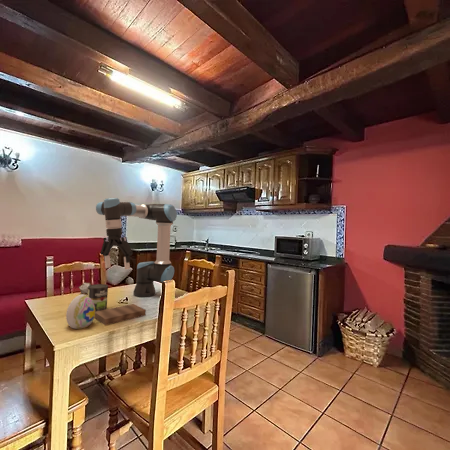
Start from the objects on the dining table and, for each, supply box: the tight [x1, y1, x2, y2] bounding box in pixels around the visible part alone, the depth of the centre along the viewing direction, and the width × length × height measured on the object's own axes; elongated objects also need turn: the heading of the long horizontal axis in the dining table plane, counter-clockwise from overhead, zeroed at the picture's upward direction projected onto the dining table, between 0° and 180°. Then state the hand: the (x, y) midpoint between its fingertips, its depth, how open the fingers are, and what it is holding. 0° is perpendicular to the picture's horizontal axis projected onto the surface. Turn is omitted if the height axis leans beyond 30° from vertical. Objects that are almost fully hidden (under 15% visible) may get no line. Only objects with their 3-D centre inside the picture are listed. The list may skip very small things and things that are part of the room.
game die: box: [77, 281, 92, 295], centre depth 179 cm, size 9×8×10 cm
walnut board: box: [94, 303, 147, 326], centre depth 139 cm, size 22×14×3 cm, turn 138°
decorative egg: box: [65, 293, 95, 330], centre depth 125 cm, size 12×12×15 cm
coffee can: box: [87, 283, 109, 312], centre depth 146 cm, size 10×10×14 cm
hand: (117, 268), depth 136 cm, fingers open, 13 cm apart
